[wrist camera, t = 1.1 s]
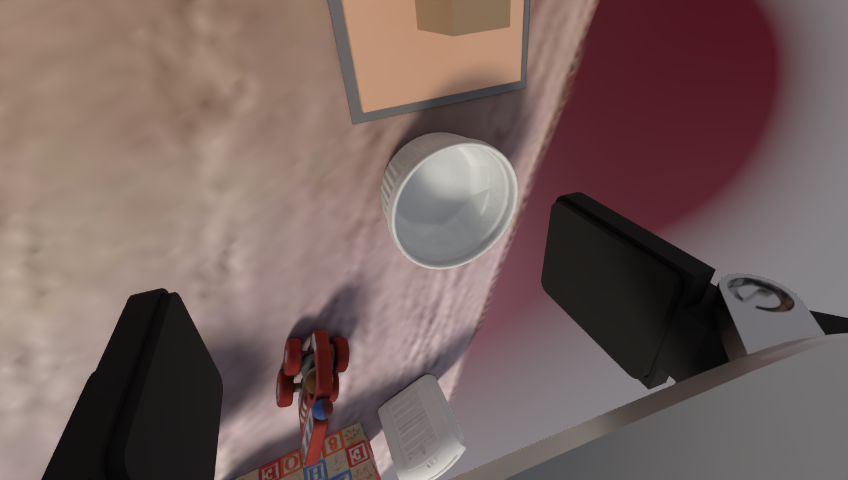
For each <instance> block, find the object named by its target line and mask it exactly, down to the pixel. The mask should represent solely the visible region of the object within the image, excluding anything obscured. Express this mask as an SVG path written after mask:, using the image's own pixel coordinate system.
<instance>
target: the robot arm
mask: <svg viewBox="0 0 848 480" xmlns="http://www.w3.org/2000/svg"><path fill="white" fill-rule="evenodd" d="M714 272H715V269H713V268H712V267H710V266H708V265H707V264H705V263H703V262H702V261H700V260H698V259H696V258H695V257H693V256H691V255H689V254H688V253H686V252H684V251H682V250H681V249H679V248H677V247H676V246H674V245H672V244H670V243H669V242H667V241H665V240H663V239H661V238H660V237H658V236H656V235H655V234H653V233H651V232H649V231H648V230H646V229H644V228H642V227H641V226H639V225H637V224H635V223H634V222H632V221H630V220H628V219H627V218H625V217H623V216H622V215H620V214H618V213H616V212H615V211H613V210H611V209H609V208H607V207H606V206H604V205H602V204H601V203H599V202H597V201H595V200H593V199H592V198H590V197H588V196H587V195H585V194H583V193H581V192H576V193H571V194H567V195H563V196H560V197H558V198H557V200H556V202H555V203H554V204H553V205H552V208H551V213H550V221H549V228H548V235H547V242H546V249H545V257H544V264H543V271H542V278H541V283H542V286H543V289H544V290H545V292H546V293H547V294H548V295H549V296H550V297H551V298H552V299H554V301H555V302H556V303H557V304H558V305H559V306H560V307H561V308H562V309H563V310H565V312H566V313H567V314H568V315H569V316H570V317H571V318H572V319H573V320H574V321H575V322H576V323H577V324H578V325H579V326H580V327H581V328H582V329H583V330H585V332H587V334H588V335H589V336H590V337H591V338H592V339H593V340H594V341H595V342H596V343H597V344H598V345H599V346H600V347H601V348H602V349H604V351H606V353H607V354H608V355H609V356H610V357H611V358H612V359H613V360H614V361H615V362H616V363H618V365H619V366H621V368H623V369H624V370H625V371H626V372H627V373H628V374H629V375H630V376H631V377H633V378H635V379H638V380H639V381H641V383H642V384H643V385H645V386H646V387H647V388H648V389H651V388H654V387H656V386H659V385H661V384H663V383H666V381H667V379H668V377H669V376H670V377H672V378H673V379H674V380H675V382H676V383H675V384H674V385H672V386H669V387H667V388H665V389H662V390H660V391H658V392H655V393H652V394H650V395H648V396H645V397H643V398H641V399H638V400H636V401H633V402H631V403H629V404H626V405H624V406H622V407H619V408H617V409H614V410H612V411H609V412H607V413H605V414H602V415H600V416H598V417H595V418H593V419H591V420H588V421H586V422H583V423H581V424H579V425H576V426H574V427H571V428H569V429H567V430H564V431H562V432H560V433H557V434H555V435H553V436H550V437H548V438H545V439H543V440H541V441H539V442H536V443H534V444H531V445H529V446H527V447H524V448H522V449H520V450H517V451H515V452H513V453H510V454H508V455H505V456H503V457H501V458H498V459H496V460H494V461H492V462H489V463H487V464H484V465H482V466H480V467H477V468H475V469H473V470H470V471H468V472H465V473H463V474H461V475H459V476H456V477H454V478H451V479H450V480H848V318H845V317H840V316H835V315H830V314H824V313H820V312H814V311H809V310H808V308H807V307H806V305H805V304H804V302H803V301H802V300H801V299H800V298H799V297H798V296H797V294H796V293H794V292H793V291H791V290H790V289H788V288H787V287H785V286H783V285H781V284H779V283H777V282H775V281H773V280H770V279H767V278H764V277H761V276H756V275H751V274H741V273H736V274H728V275H726V276H724V277H722V278H721V280H720V281H719V283H718V285H717V287H716V286H715V285H713V284H711V283H710V281H711V279H712V277H713V274H714ZM222 394H223V384H222V379H221V376H220V373H219V372H218V370H217V368H216V366H215V364H214V362H213V360H212V358H211V356H210V354H209V352H208V350H207V348H206V346H205V344H204V342H203V340H202V338H201V336H200V334H199V332H198V331H197V329H196V327H195V325H194V323H193V321H192V319H191V317H190V315H189V313H188V311H187V309H186V307H185V305H184V303H183V301H182V299H181V297H180V296H179V294H178V293H176V292H173V293H168V291H167V290H166V289H164V288H160V289H156V290H152V291H147V292H143V293H139V294H134V295H131V296H130V297H129V299H128V300H127V303H126V305H125V307H124V309H123V311H122V314H121V316H120V318H119V320H118V322H117V325H116V327H115V329H114V331H113V334H112V336H111V338H110V340H109V342H108V345H107V347H106V349H105V351H104V353H103V356H102V358H101V360H100V362H99V364H98V367H97V369H96V371H95V372H93V373H92V374H91V376H90V377H89V379H88V380H87V382H86V384H85V387H84V389H83V391H82V393H81V395H80V397H79V400H78V402H77V404H76V406H75V408H74V410H73V412H72V415H71V417H70V419H69V421H68V423H67V425H66V428H65V430H64V432H63V434H62V436H61V438H60V440H59V443H58V445H57V447H56V449H55V451H54V453H53V456H52V458H51V460H50V462H49V464H48V466H47V468H46V471H45V473H44V475H43V477H42V479H41V480H214V476H215V465H216V455H217V445H218V435H219V425H220V414H221V404H222Z"/></svg>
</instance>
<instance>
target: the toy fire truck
mask: <svg viewBox="0 0 848 480" xmlns="http://www.w3.org/2000/svg"><path fill="white" fill-rule="evenodd" d="M348 362H349V346H348V341H347V339H346V338H344V337H335V338H333V339H332V340H331V343H329V338H328V333H327V331H325V330H314V331H313V333H312V337H311V342H310V346H309V347H308V351H302V342H301V340H300V339H288V340H287V341H286V344H285V350H284V371H280V372H279V374H278V378H277V387H276V400H277V405H278V407H288V406H290V405H291V404H292V402H293V393H294V392H300V393H299V399H298V406H299V418H300V429H301V438H302V457H303V464H304V466H308V465H313V464H317V463H318V461H319V457H320V454H321V450H322V446H323V442H324V439H325V435H326V431H327V427H328V417H329V416H330V415H331V414H332V411H333V404H332V402H335V401H336V399H337V397H338V393H339V377H338V373H339V372H344V371H345V370H346V369H347V367H348ZM300 371H301V372H302V375H303V378H302V379H301V383H294V382H293V380H294V375H298V374H299V373H300Z"/></svg>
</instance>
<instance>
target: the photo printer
mask: <svg viewBox="0 0 848 480" xmlns="http://www.w3.org/2000/svg"><path fill="white" fill-rule="evenodd" d="M378 414H379V418H380V421H381V424H382V427H383V431H384V434H385V437H386V440H387V444H388V447H389V450H390V454H391V457H392V460H393V463H394V467H395V470H396V473H397V475H398V478H399V480H434V479H436V478H438V477H439V476H441V475H442V474H443V473H444V472H446V471H447V470H448V469H449V468H450V467H451V466H452V465H453V464H454V463H455V462H456V461H457V460H458V459H459V457H460V456H461V455H462V453H463V452H464V450H465V449H466V443H465V440H464V438H463V434H462V431H461V429H460V427H459V425H458V423H457V421H456V419H455V417H454V415H453V413H452V411H451V409H450V406H449V404H448V402H447V400H446V398H445V396H444V394H443V392H442V390H441V388H440V386H439V384H438V382H437V380H436V378H435V376H433V375H429V374H428V375H425V376H423V377H421V378H419V379H418V380H416V381H415V382H414V383H412V384H411V385H410V386H408V387H407V388H405V389H404V390H403V391H401V392H400V393H398V394H397V395H396V396H394V397H393V398H392V399H390V400H389V401H387V402H386V403H385V404H384V405H382V406H381V407H380V408H379V409H378Z"/></svg>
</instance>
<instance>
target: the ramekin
mask: <svg viewBox="0 0 848 480" xmlns="http://www.w3.org/2000/svg"><path fill="white" fill-rule="evenodd" d="M517 201H518V181H517V177H516V173H515V171H514V168H513V166H512V165H511V163H510V162H509V160H508V159H507V158H506V157H505V156H504V155H503V154H502V153H501V152H500V151H498V150H497V149H496V148H494V147H493V146H491V145H489V144H488V143H486V142H483V141H480V140H477V139H472V138H466V137H463V136H460V135H457V134H452V133H448V132H444V133H443V132H437V133H430V134H425V135H423V136H420V137H417V138H415V139H414V140H412V141H410V142H409V143H407V144H406V145H404V146H403V147H402V148H401V149H400V150H399V151H398V152H397V153H396V154H395V155H394V157H393V158H392V160H391V161H390V162H389V165H388V167H387V168H386V171H385V174H384V176H383V181H382V183H381V202H382V207H383V210H384V213H385V216H386V219H387V221H388V227H389V231H390V234H391V236H392V239H393V241H394V242H395V244H396V245H397V247H398V248H399V250H400V251H401V252H402V253H403V254H404V256H405V257H407V258H408V259H409V260H410V261H412V262H413V263H415V264H417V265H419V266H422V267H425V268H430V269H449V268H454V267H458V266H461V265H464V264H466V263H468V262H471V261H473V260H474V259H476V258H478V257H479V256H481V255H482V254H484V253H485V252H486V251H488V250H489V249H490V248H491V247H492V246H493V245H494V244H495V243H496V242H497V241H498V240H499V239H500V238H501V236H502V235H503V234H504V232H505V231H506V229H507V227H508V226H509V224H510V222H511V220H512V218H513V215H514V212H515V209H516V206H517Z"/></svg>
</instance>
